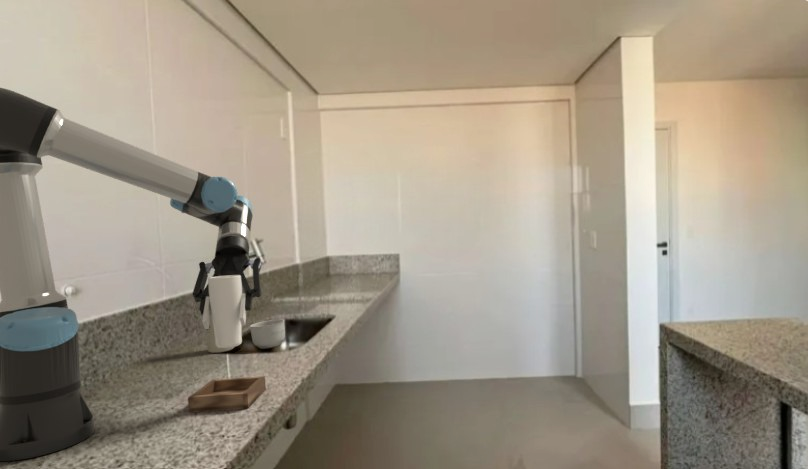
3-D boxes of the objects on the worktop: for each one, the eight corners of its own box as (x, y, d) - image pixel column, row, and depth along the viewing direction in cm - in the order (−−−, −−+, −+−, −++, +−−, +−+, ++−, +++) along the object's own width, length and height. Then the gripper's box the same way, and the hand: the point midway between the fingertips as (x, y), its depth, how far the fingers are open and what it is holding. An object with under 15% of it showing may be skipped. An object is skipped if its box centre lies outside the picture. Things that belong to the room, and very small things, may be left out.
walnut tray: (188, 412, 95) (188, 397, 95) (213, 393, 107) (212, 379, 107) (248, 408, 95) (247, 393, 95) (265, 389, 107) (264, 376, 107)
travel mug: (234, 346, 158) (230, 292, 158) (234, 351, 150) (230, 294, 151) (208, 349, 155) (205, 295, 155) (207, 354, 148) (203, 297, 148)
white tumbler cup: (234, 349, 98) (230, 277, 98) (205, 349, 99) (200, 278, 99) (251, 341, 104) (247, 274, 104) (223, 342, 106) (219, 275, 106)
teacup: (277, 350, 148) (275, 324, 148) (245, 351, 150) (243, 325, 150) (294, 340, 162) (293, 317, 162) (264, 341, 163) (263, 318, 163)
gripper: (276, 253, 119) (274, 329, 102) (194, 258, 115) (178, 338, 99) (272, 231, 113) (270, 308, 97) (186, 236, 110) (168, 317, 94)
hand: (224, 323), depth 98 cm, fingers closed on white tumbler cup, 7 cm apart
